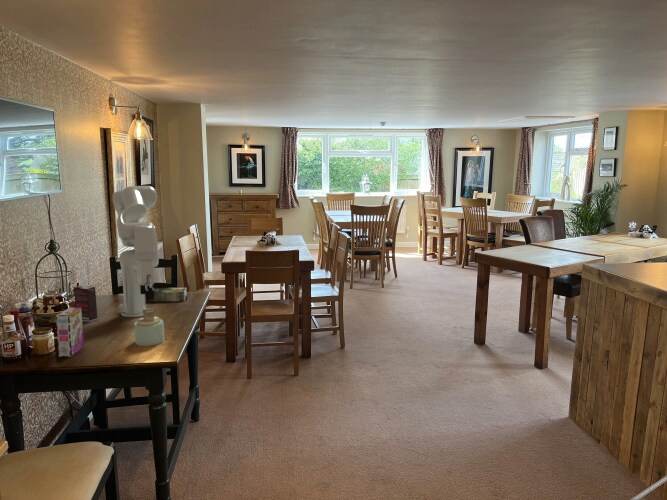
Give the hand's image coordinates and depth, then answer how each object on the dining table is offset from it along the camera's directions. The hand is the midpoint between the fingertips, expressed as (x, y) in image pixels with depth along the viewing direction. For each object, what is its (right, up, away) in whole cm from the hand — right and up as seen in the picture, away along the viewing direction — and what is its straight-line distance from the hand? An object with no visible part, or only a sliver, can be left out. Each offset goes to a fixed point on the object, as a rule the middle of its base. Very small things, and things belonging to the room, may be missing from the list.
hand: (147, 296), depth 196 cm
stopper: (0, -14, +2) cm, 14 cm away
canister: (0, -19, +3) cm, 19 cm away
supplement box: (-39, -14, +29) cm, 51 cm away
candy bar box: (-25, -21, -10) cm, 34 cm away
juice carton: (-14, -8, +65) cm, 67 cm away
